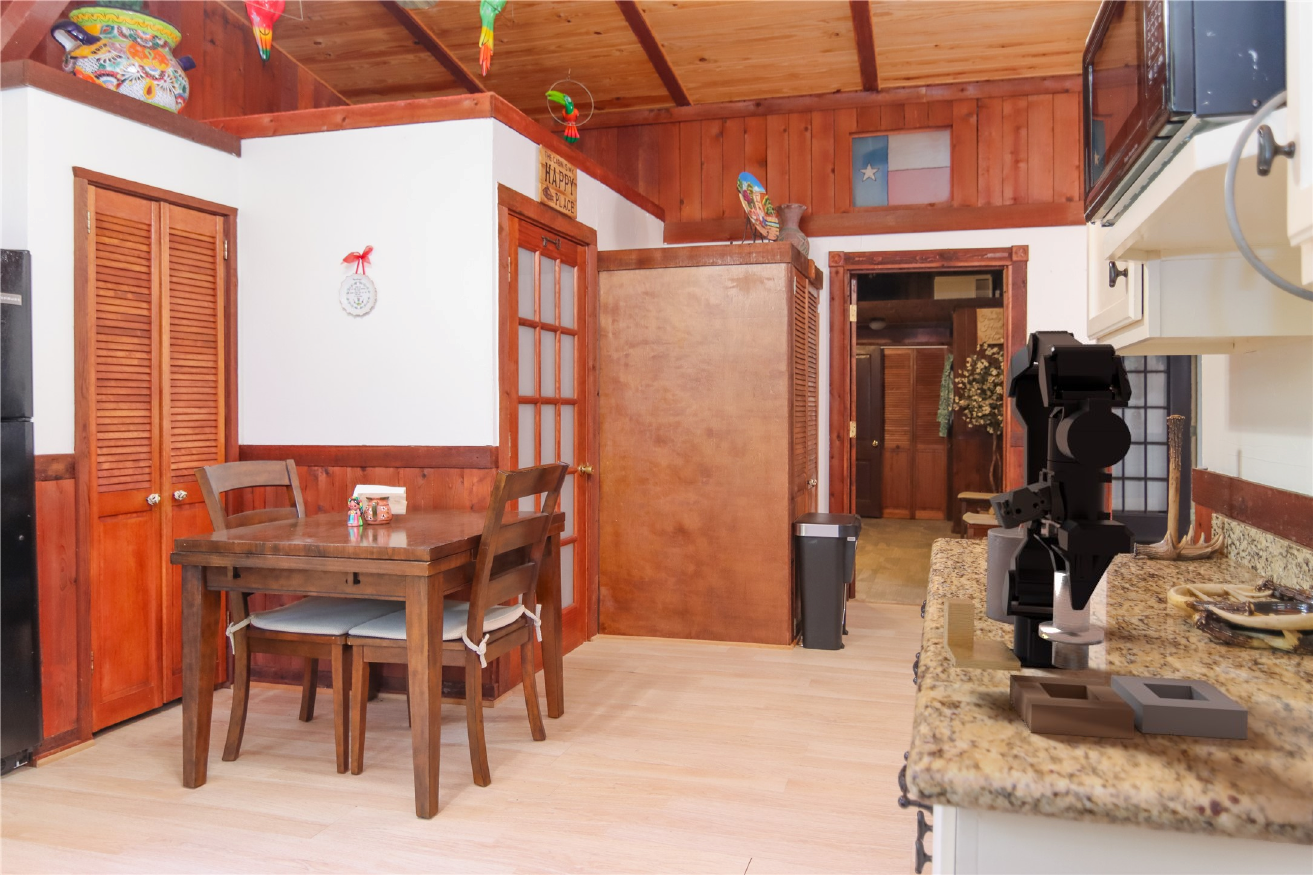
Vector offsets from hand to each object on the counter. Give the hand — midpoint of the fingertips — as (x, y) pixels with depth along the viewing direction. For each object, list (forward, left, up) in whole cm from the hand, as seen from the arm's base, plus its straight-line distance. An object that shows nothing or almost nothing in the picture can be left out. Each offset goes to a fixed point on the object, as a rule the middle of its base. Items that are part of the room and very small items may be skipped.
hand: (1071, 605), depth 98 cm
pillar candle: (-46, +5, -13) cm, 48 cm away
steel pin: (0, 0, -6) cm, 6 cm away
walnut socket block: (0, 0, -12) cm, 12 cm away
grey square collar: (-2, +11, -12) cm, 17 cm away
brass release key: (-7, -8, -8) cm, 13 cm away
